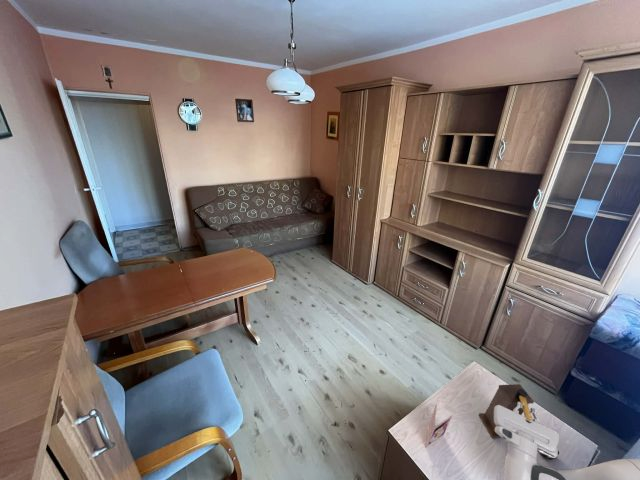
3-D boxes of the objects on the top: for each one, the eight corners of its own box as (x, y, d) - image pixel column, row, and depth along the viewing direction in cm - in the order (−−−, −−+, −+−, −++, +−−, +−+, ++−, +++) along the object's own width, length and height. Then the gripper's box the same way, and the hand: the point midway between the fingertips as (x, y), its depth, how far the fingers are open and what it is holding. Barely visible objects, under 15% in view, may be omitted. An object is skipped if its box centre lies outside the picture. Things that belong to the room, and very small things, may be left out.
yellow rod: (532, 427, 101) (536, 421, 100) (522, 423, 102) (526, 417, 101) (522, 396, 113) (526, 390, 111) (514, 393, 114) (517, 387, 112)
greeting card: (427, 449, 113) (435, 429, 107) (414, 432, 119) (421, 412, 113) (445, 437, 118) (454, 417, 112) (431, 421, 124) (440, 401, 117)
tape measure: (557, 455, 114) (561, 451, 112) (549, 464, 111) (553, 459, 109) (539, 440, 119) (543, 435, 118) (531, 447, 116) (535, 443, 115)
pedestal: (516, 436, 120) (538, 404, 109) (491, 438, 119) (511, 405, 108) (501, 414, 129) (520, 382, 118) (478, 415, 128) (495, 382, 117)
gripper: (561, 461, 92) (563, 419, 98) (494, 428, 102) (500, 391, 108) (553, 460, 97) (555, 420, 103) (489, 428, 106) (495, 393, 113)
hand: (526, 405), depth 106 cm, fingers closed on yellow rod, 3 cm apart
